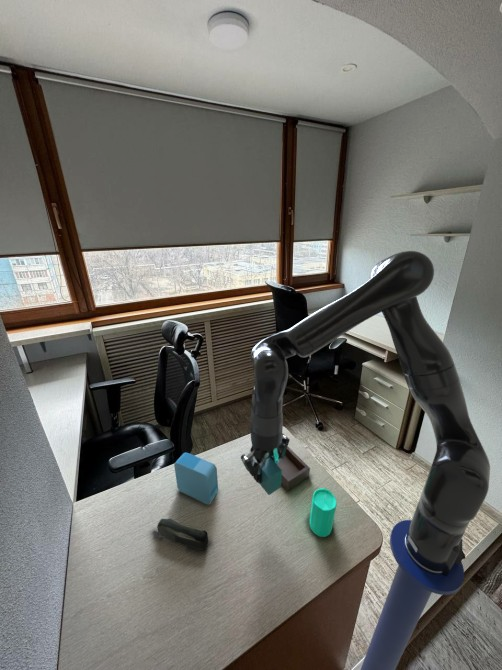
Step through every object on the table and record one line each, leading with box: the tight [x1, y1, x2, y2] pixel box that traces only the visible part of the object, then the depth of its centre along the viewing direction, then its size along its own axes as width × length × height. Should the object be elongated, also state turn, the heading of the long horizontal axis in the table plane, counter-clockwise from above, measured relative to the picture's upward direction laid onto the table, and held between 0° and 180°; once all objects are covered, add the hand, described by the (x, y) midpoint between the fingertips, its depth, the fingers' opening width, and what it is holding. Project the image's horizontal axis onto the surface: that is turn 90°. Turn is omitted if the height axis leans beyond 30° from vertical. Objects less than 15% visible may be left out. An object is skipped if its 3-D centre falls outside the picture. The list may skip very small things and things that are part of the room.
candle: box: [309, 487, 337, 538], centre depth 71 cm, size 6×6×12 cm
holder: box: [277, 445, 311, 491], centre depth 91 cm, size 18×9×4 cm, turn 33°
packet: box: [252, 458, 282, 496], centre depth 69 cm, size 4×8×6 cm, turn 35°
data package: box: [173, 452, 219, 505], centre depth 80 cm, size 12×4×12 cm, turn 65°
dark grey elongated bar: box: [152, 518, 209, 551], centre depth 69 cm, size 5×3×15 cm
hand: (265, 476), depth 70 cm, fingers closed on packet, 4 cm apart
